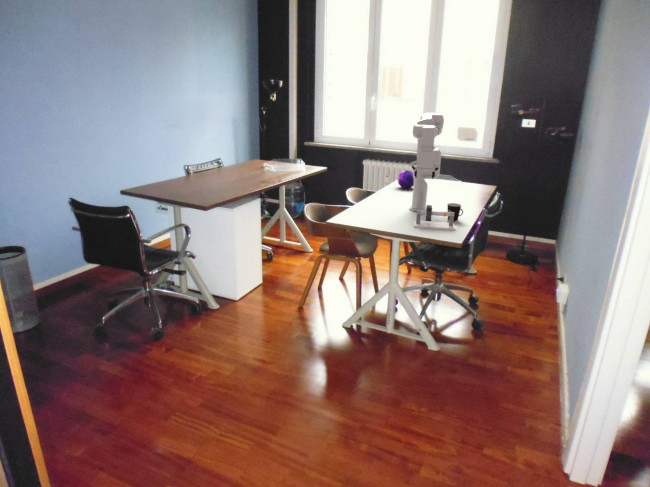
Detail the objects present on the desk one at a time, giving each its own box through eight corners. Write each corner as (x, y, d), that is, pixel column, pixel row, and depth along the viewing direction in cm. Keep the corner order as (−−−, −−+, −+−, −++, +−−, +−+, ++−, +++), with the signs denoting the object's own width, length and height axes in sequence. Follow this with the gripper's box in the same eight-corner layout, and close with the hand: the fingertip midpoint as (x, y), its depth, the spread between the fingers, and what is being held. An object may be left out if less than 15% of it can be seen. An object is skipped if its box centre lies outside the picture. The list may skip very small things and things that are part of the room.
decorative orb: (398, 185, 409) (400, 168, 404) (416, 187, 404) (417, 169, 399) (395, 189, 395) (396, 171, 390) (413, 190, 391) (415, 172, 386)
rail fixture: (413, 221, 305) (414, 207, 302) (453, 224, 301) (455, 209, 298) (413, 227, 293) (415, 212, 290) (455, 230, 289) (457, 215, 286)
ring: (425, 217, 300) (426, 205, 298) (430, 217, 300) (431, 205, 297) (425, 220, 293) (427, 208, 290) (430, 221, 292) (432, 208, 290)
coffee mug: (444, 217, 315) (445, 203, 312) (456, 217, 316) (458, 203, 313) (449, 222, 304) (451, 207, 301) (462, 222, 305) (464, 207, 302)
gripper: (441, 148, 279) (438, 177, 284) (411, 147, 281) (409, 176, 287) (442, 150, 272) (439, 180, 277) (411, 148, 274) (409, 178, 280)
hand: (424, 178), depth 282 cm, fingers open, 9 cm apart
